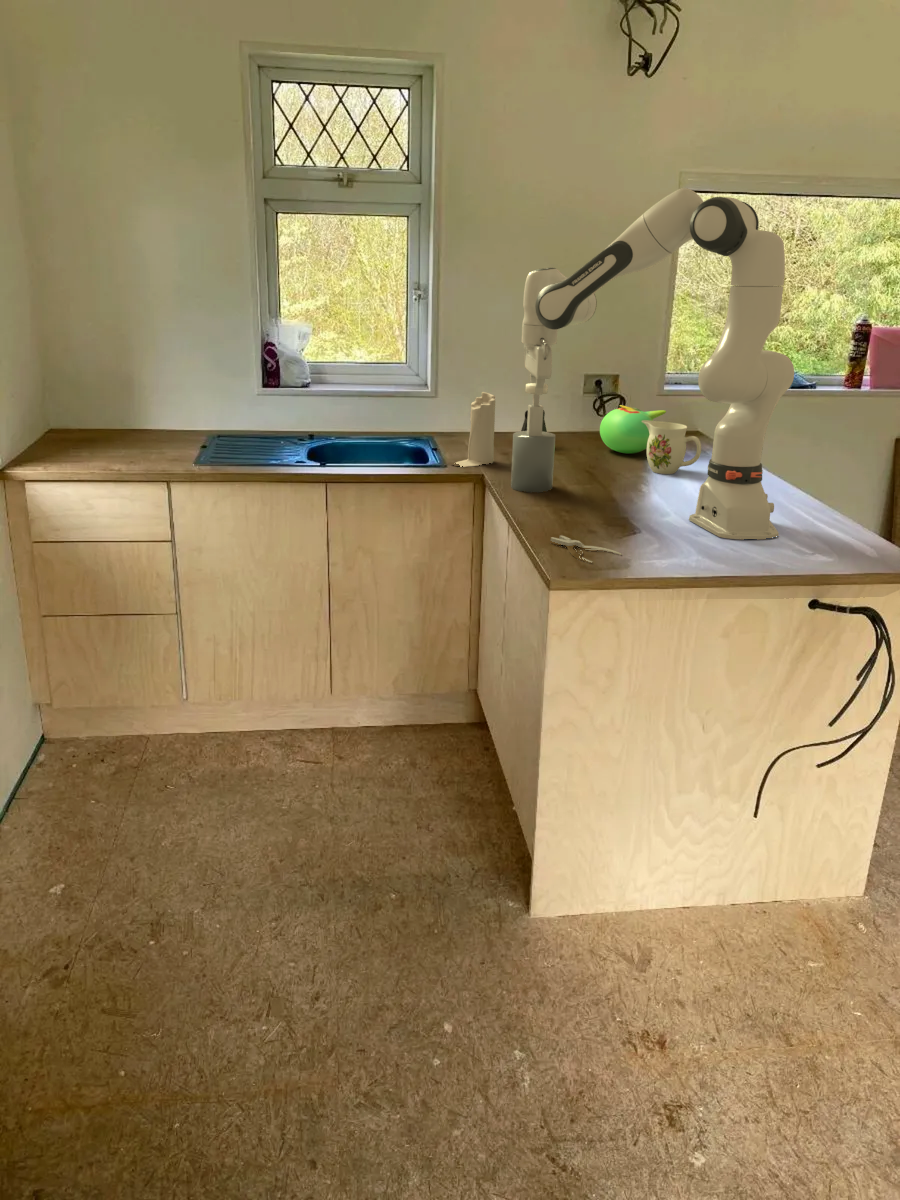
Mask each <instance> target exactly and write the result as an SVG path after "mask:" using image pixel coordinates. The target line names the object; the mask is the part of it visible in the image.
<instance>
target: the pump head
mask: <svg viewBox="0 0 900 1200" xmlns="http://www.w3.org/2000/svg"><path fill="white" fill-rule="evenodd" d="M535 387H536V383H531V382H530V383H526V384H525V394H529V395H532V405H533V407H539V405H540V395H537V394H536V393H535ZM548 387H549V385H548V384H547V383H544V386H543V394H542V395H546V394H548Z"/></svg>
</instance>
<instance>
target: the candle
mask: <svg viewBox="0 0 900 1200" xmlns="http://www.w3.org/2000/svg"><path fill="white" fill-rule="evenodd" d="M469 415H470V416H469V417H470V419H469V421H470V431H469V439H468V446H467V447H468V449H467V459H463V460H459V461H456V462H455V463H456V464H459V465H460V467H459V468H466V467H468V468H469V467H470V468H471V467H479V465H480V466H483V465H482V464H486V465H490V464H489V463H491V464H493V463H494V450H495V449H494V447H495V446H494V444H495V443H494V442H495V439H494V438H495V425H496V424H495V422H496V421H495V420H496V417H495V416H496V396H495V395H494V394H491V393H489V392H486V391H482V392H481V396H477V397H475V399H474V401H472V402H471V404H470V414H469ZM462 466H463V467H462Z"/></svg>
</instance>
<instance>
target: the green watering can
mask: <svg viewBox="0 0 900 1200" xmlns="http://www.w3.org/2000/svg"><path fill="white" fill-rule="evenodd" d="M666 413H667V411H666V410H663V409H662V410H661V409H660V410H658V409H657V410H650V411H643V410H641V409H639V408H636V407H631V406H626V405H622V404H620V405H619V407H618V408H615V409H613V410H610V411H609V412H608V413H607V414H606V415H604V417H603V418H602V420H601V422H600V425H599V435H600V438H601V440H602V442H603V444H605V445H606V447H608V448H609V449H611V450H612V451H615V452H616V453H617V452H618V453H622V454H627V455H628V454H630V455H631V454H638V453H640V452H643V451H645V450H647V442H648V438H649V435H650V434H649V430H648V428H647V426H646V425H645V424H644V423H643V422H642V420H650V421H654V419H656V418H659V417H661V416H663V415H665V414H666Z"/></svg>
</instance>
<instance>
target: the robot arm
mask: <svg viewBox="0 0 900 1200" xmlns="http://www.w3.org/2000/svg"><path fill="white" fill-rule="evenodd" d="M759 227H760V222H759V217H758V213H757V212H756V210H755V209H754V208H753V207H752V206H751V205H750V204H749V203H747V202H745V201H742V200H739V199H738V198H734V197H731V196H728V197H727V196H715V197H711V198H708V199H705V200H703V199H702V197H701V196H700V195H699V194H698V193H697V192H695V191H694V190H692V189H690V188H686V187H681V188H678V189H676V190H675V191H672V192H671V193H669V194H668V195H666V196H664V197H663V198H661V200H659V201H657V202H656V203H654V204H653V205H652V206H651V207H649V208H648V209H647V210H646V211H644V212H643V213H642V214H641V215H640V216H639V217H638V218H637V219H636V220H634V221H633V223H631V224H630V225H628V227H627V228H626V229H625V230H624V231H623V232H622V233H621V234H620V235H618V237H616V238H615V239H614V240H613V241H612V242H611V243H610V244H608V246H607V247H605V249H603V250H602V251H600V252H599V253H598V254H597V255H596V256H594V257H593V258H592V259H590V260H588V262H587V263H585V264H584V265H583V266H581V267H580V268H579V269H578V270H577V271H575V272H574V273H572V274H571V275H570V276H569V277H567V276H565V274H563V273H561V271H560V270H559V269H558V268H556V267H545V268H539V269H534V270H531V271H530V272H529V273H528V274H527V276H526V279H525V283H524V289H523V290H524V291H523V304H522V305H523V310H524V312H523V313H524V315H523V319H522V323H521V324H522V325H521V343H522V344H523V357H524V358H523V359H524V360H523V362H524V367H525V369H526V370H527V371H528V372H529V378H530V380H529V381H530V383H536V387H535V393H536V394H537V395H539V396H541V395H544V394H543V386H544V384H546V383H545V382H546V381H545V380H550V379H551V377H552V367H553V365H552V361H553V351H552V346H554V345H556V344H557V341H558V330H560V329H563V328H565V327H570V326H577V325H581V324H584V323H586V322H587V321H588V322H589V320H590V319H592V317H594V315H595V313H596V309H597V302H598V301H597V296H596V294H595V293H596V292H598V291H599V290H600V289H601V288H603V287H604V286H605V285H606V284H608V283H609V282H611V281H613V280H615V279H617V278H620V277H622V276H625V275H629V274H633V273H638V272H642V271H645V270H648V269H650V268H653V267H654V266H656V265H659V264H660V263H661V262H663V261H665V260H666V259H667V258H669V257H670V256H671V255H672V254H674V253H675V252H676V251H677V250H678V249H680V248H681V247H682V246H683V245H685V244H686V243H688V242H689V241H691V240H693V241H694V242H695V244H697V246H699V248H701V249H703V250H704V251H708V252H711V253H714V254H717V255H720V256H722V257H728V258H729V260H730V262H731V276H730V286H729V287H730V288H729V296H728V306H727V313H726V319H725V323H724V328H723V330H722V333H721V336H720V338H719V341H718V343H717V345H716V347H715V349H714V351H713V352H712V355H710V357H709V358H708V359H707V360H706V361H705V362H704V363H703V364H702V366H701V368H700V369H699V372H698V373H699V374H698V376H697V377H698V378H697V380H698V381H697V383H698V388H699V390H700V393H701V395H702V396H703V397H704V398H705V399H706V400H707V401H710V402H713V403H719V404H726V405H730V406H729V408H728V410H727V412H726V413H725V415H724V416H723V417H722V419H720V420H719V421H718V423H717V424H716V426H715V428H714V432H713V433H714V434H713V443H712V451H711V458H710V459H709V461H708V464H707V478H706V480H705V481H704V482H703V483H702V484H701V485H700V487H699V491H698V496H697V500H696V507H695V513H692V514H690V515H689V517H688V520H689V521H690V522H691V523H693V524H695V525H697V526H698V527H701V529H704V530H706V531H707V532H709V533H711V534H713V535H715V536H716V537H719V538H722V539H723V538H724V539H729V540H730V539H731V540H744V539H757V540H767V539H766V538H772V537H776V536H779V535H780V534H779V531H778V529H777V528H776V527H775V525H774V524H773V523H772V522H771V520H770V518H771V514H773V513H774V511H775V503H774V502H769V501H768V493H766V492H765V490H764V488H763V484H762V481H763V473H764V471H763V464H762V454H763V449H764V444H765V443H764V442H765V438H766V437H765V436H766V432H767V429H768V427H769V423H770V420H771V418H772V416H773V413H774V411H775V409H776V406H777V405H778V403H779V401H780V399H781V398H782V396H783V395H785V393H786V392H787V391H788V390H789V389H790V388H791V386H792V384H793V383H794V382H793V381H794V379H795V368H794V363H793V361H792V360H791V359H790V358H789V357H788V356H787V355H786V354H783V353H780V352H778V351H773V350H767V349H766V350H763V348H764V345H765V344H766V342H767V339H768V337H769V336H770V335H771V333H772V332H773V331H774V330H775V329H776V328H777V327H778V325H779V323H780V319H781V310H782V301H783V293H784V292H783V291H784V284H785V273H786V272H785V270H786V258H785V255H786V254H785V245H784V241H783V239H782V237H781V236H780V235H778V234H776V233H774V232H773V231H772V232H771V231H768V230H759ZM776 538H777V537H776ZM772 539H773V538H772Z"/></svg>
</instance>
